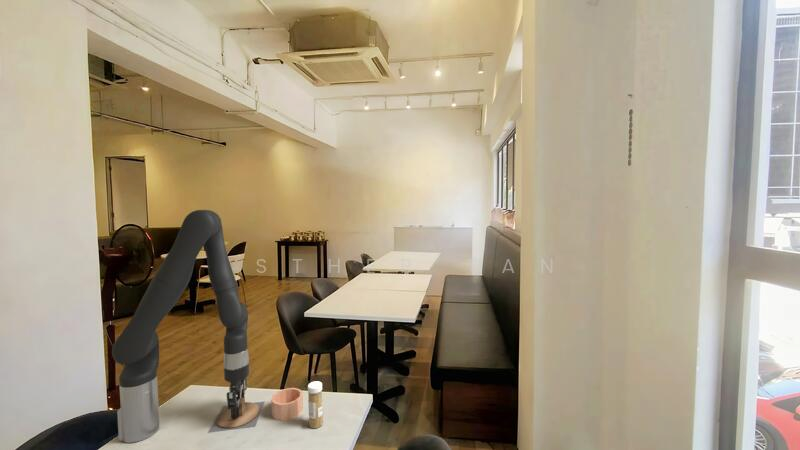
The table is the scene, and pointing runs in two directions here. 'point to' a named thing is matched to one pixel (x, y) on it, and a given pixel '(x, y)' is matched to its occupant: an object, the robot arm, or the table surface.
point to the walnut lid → (246, 415)
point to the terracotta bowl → (287, 404)
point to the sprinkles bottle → (315, 404)
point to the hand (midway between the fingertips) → (238, 411)
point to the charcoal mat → (252, 424)
